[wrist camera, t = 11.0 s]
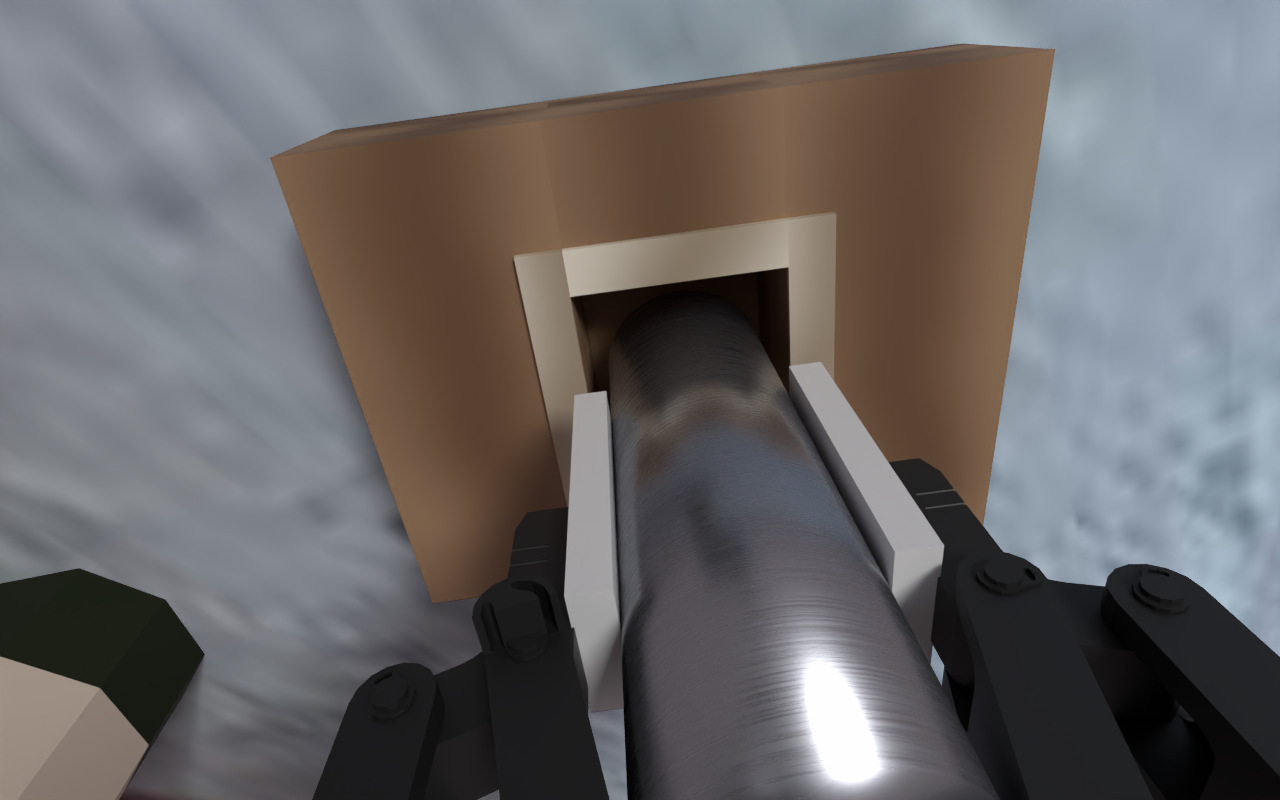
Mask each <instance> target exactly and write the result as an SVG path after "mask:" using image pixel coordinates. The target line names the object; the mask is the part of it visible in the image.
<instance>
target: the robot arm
mask: <svg viewBox="0 0 1280 800" xmlns="http://www.w3.org/2000/svg"><path fill="white" fill-rule="evenodd" d="M789 395H790V399H791V401H792V403H793V405H794V406H795V408H796V410H797V412H798V414H799V416H800V418H801V420H802V422H803V424H804V425H805V427H806V429H807V431H808V433H809V435H810V437H811V439H812V441H813V443H814V444H815V446H816V448H817V450H818V452H819V454H820V456H821V458H822V460H823V462H824V463H825V465H826V467H827V469H828V471H829V473H830V475H831V477H832V479H833V481H834V483H835V484H836V486H837V488H838V490H839V492H840V494H841V496H842V498H843V500H844V502H845V503H846V505H847V507H848V509H849V511H850V513H851V515H852V517H853V519H854V521H855V522H856V524H857V526H858V528H859V530H860V532H861V534H862V536H863V538H864V540H865V541H866V543H867V545H868V547H869V549H870V551H871V553H872V555H873V557H874V559H875V561H876V562H877V564H878V566H879V568H880V570H881V572H882V574H883V576H884V578H885V580H886V581H887V583H888V585H889V587H890V589H891V591H892V593H893V595H894V597H895V599H896V600H897V602H898V604H899V606H900V608H901V610H902V612H903V614H904V616H905V618H906V619H907V621H908V623H909V625H910V627H911V629H912V631H913V633H914V635H915V637H916V638H917V640H918V642H919V644H920V646H921V648H922V650H923V652H924V654H925V656H926V658H927V659H928V661H929V663H931V655H932V646H934V647H935V649H936V651H937V653H938V655H939V657H940V658H941V660H942V662H943V664H944V673H943V680H942V688H943V690H944V692H945V694H946V696H947V697H948V699H949V701H950V703H951V705H952V707H953V709H954V711H955V713H956V715H957V716H958V718H959V720H960V722H961V724H962V726H963V728H964V730H965V732H966V734H967V736H968V737H969V739H970V741H971V743H972V745H973V747H974V749H975V751H976V753H977V755H978V756H979V758H980V760H981V762H982V764H983V766H984V768H985V770H986V772H987V774H988V775H989V777H990V779H991V781H992V783H993V785H994V787H995V789H996V791H997V793H998V794H999V796H1000V798H1001V800H1280V657H1279V656H1278V655H1277V654H1276V653H1275V652H1274V651H1273V650H1271V649H1270V648H1269V647H1268V646H1267V645H1266V644H1265V643H1264V642H1263V641H1261V640H1260V639H1259V638H1258V637H1257V636H1256V635H1255V634H1254V633H1253V632H1251V631H1250V630H1249V629H1248V628H1247V627H1246V626H1245V625H1244V624H1243V623H1241V622H1240V621H1239V620H1238V619H1237V618H1236V617H1235V616H1234V615H1233V614H1231V613H1230V612H1229V611H1228V610H1227V609H1226V608H1225V607H1224V606H1223V605H1221V604H1220V603H1219V602H1218V601H1217V600H1216V599H1215V598H1214V597H1212V596H1211V595H1210V594H1209V593H1208V592H1207V591H1206V590H1205V589H1204V588H1202V587H1201V586H1199V585H1198V584H1197V583H1195V582H1194V581H1192V580H1191V579H1189V578H1188V577H1186V576H1184V575H1181V574H1179V573H1177V572H1174V571H1172V570H1169V569H1167V568H1162V567H1158V566H1153V565H1148V564H1128V565H1125V566H1122V567H1119V568H1116V569H1114V571H1113V572H1112V573H1111V574H1110V575H1109V576H1108V578H1107V582H1106V585H1105V587H1104V586H1094V585H1084V584H1075V583H1065V582H1059V581H1054V580H1049V579H1047V578H1046V577H1045V575H1044V574H1043V573H1042V572H1041V570H1040V569H1039V568H1037V567H1036V566H1034V565H1033V564H1032V563H1030V562H1029V561H1027V560H1026V559H1023V558H1020V557H1018V556H1015V555H1012V554H1010V553H1004V552H1003V551H1002V550H1001V549H1000V547H999V546H998V545H997V543H996V542H995V541H994V540H993V538H992V537H991V536H990V534H989V533H988V532H987V531H986V529H985V528H984V527H983V525H982V524H981V523H980V521H979V520H978V519H977V518H976V516H975V515H974V514H973V512H972V511H971V510H970V509H969V507H968V506H967V505H964V501H963V500H962V498H961V497H960V496H959V494H958V493H957V492H956V491H954V490H953V487H952V485H951V484H950V483H949V481H948V480H947V479H946V478H945V476H944V475H943V474H942V472H941V471H939V470H938V469H936V468H935V467H933V466H931V465H930V464H928V463H926V462H925V461H923V460H921V459H920V458H915V459H908V460H900V461H893V462H888V461H887V460H886V458H885V457H884V455H883V454H882V452H881V451H880V449H879V448H878V446H877V445H876V443H875V442H874V440H873V439H872V437H871V436H870V434H869V433H868V431H867V430H866V428H865V427H864V425H863V424H862V422H861V421H860V419H859V418H858V416H857V415H856V413H855V412H854V410H853V409H852V407H851V406H850V404H849V403H848V401H847V400H846V398H845V397H844V396H843V394H842V393H841V391H840V390H839V388H838V387H837V385H836V384H835V382H834V381H833V379H832V378H831V376H830V375H829V373H828V372H827V370H826V369H825V367H824V366H823V364H822V363H821V362H815V363H808V364H800V365H793V366H789ZM472 619H473V622H474V625H475V628H476V631H477V634H478V637H479V640H480V643H481V646H482V649H483V651H482V652H481V653H480V654H478V655H477V656H475V657H474V658H473V659H471V660H469V661H467V662H465V663H463V664H461V665H459V666H456V667H454V668H451V669H449V670H447V671H444V672H442V673H439V674H437V675H434V676H433V674H432V672H431V671H430V669H428V668H426V667H424V666H422V665H420V664H417V663H401V664H397V665H394V666H390V667H387V668H385V669H383V670H381V671H380V672H378V673H376V674H374V675H372V676H371V677H370V678H369V679H368V680H367V681H365V682H364V683H363V684H362V685H361V686H360V687H359V688H358V689H357V691H356V692H355V694H354V696H353V698H352V699H351V701H350V703H349V705H348V707H347V710H346V713H345V715H344V718H343V720H342V723H341V726H340V728H339V731H338V733H337V736H336V739H335V741H334V744H333V747H332V749H331V752H330V754H329V757H328V760H327V762H326V765H325V768H324V770H323V773H322V775H321V778H320V781H319V783H318V786H317V788H316V791H315V794H314V796H313V799H312V800H477V799H479V798H481V797H483V796H486V795H488V794H490V793H492V792H494V791H496V790H498V789H499V793H500V800H609V796H608V792H607V788H606V784H605V780H604V777H603V773H602V769H601V765H600V761H599V757H598V753H597V749H596V745H595V741H594V737H593V733H592V729H591V725H590V721H589V717H588V700H589V704H590V708H591V712H599V711H607V710H614V709H622V708H624V703H623V680H622V658H621V615H620V593H619V571H618V549H617V527H616V505H615V483H614V461H613V439H612V423H611V417H610V411H609V405H608V399H607V392H606V391H601V392H594V393H586V394H579V395H574V414H573V433H572V453H571V472H570V491H569V507H563V508H556V509H548V510H541V511H533V512H527V514H526V515H525V517H524V518H523V519H522V521H521V522H520V524H519V525H518V526H517V528H516V529H515V533H514V540H513V546H512V552H511V559H510V568H509V572H508V578H507V579H505V580H502V581H500V582H497V583H495V584H494V585H493V586H491V587H490V588H489V589H487V590H486V591H485V592H484V593H482V595H481V596H480V598H479V599H478V601H477V602H476V604H475V605H474V610H473V616H472Z"/></svg>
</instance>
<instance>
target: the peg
mask: <svg viewBox="0 0 1280 800" xmlns="http://www.w3.org/2000/svg"><path fill="white" fill-rule="evenodd" d="M609 385H610V408H611V423H612V439H613V461H614V483H615V505H616V527H617V549H618V571H619V593H620V615H621V658H622V680H623V703H624V726H625V749H626V771H627V794H628V800H1001V798H1000V796H999V794H998V793H997V791H996V789H995V787H994V785H993V783H992V781H991V779H990V777H989V775H988V774H987V772H986V770H985V768H984V766H983V764H982V762H981V760H980V758H979V756H978V755H977V753H976V751H975V749H974V747H973V745H972V743H971V741H970V739H969V737H968V736H967V734H966V732H965V730H964V728H963V726H962V724H961V722H960V720H959V718H958V716H957V715H956V713H955V711H954V709H953V707H952V705H951V703H950V701H949V699H948V697H947V696H946V694H945V692H944V690H943V688H942V686H941V684H940V682H939V680H938V678H937V677H936V675H935V673H934V671H933V669H932V667H931V665H930V663H929V661H928V659H927V658H926V656H925V654H924V652H923V650H922V648H921V646H920V644H919V642H918V640H917V638H916V637H915V635H914V633H913V631H912V629H911V627H910V625H909V623H908V621H907V619H906V618H905V616H904V614H903V612H902V610H901V608H900V606H899V604H898V602H897V600H896V599H895V597H894V595H893V593H892V591H891V589H890V587H889V585H888V583H887V581H886V580H885V578H884V576H883V574H882V572H881V570H880V568H879V566H878V564H877V562H876V561H875V559H874V557H873V555H872V553H871V551H870V549H869V547H868V545H867V543H866V541H865V540H864V538H863V536H862V534H861V532H860V530H859V528H858V526H857V524H856V522H855V521H854V519H853V517H852V515H851V513H850V511H849V509H848V507H847V505H846V503H845V502H844V500H843V498H842V496H841V494H840V492H839V490H838V488H837V486H836V484H835V483H834V481H833V479H832V477H831V475H830V473H829V471H828V469H827V467H826V465H825V463H824V462H823V460H822V458H821V456H820V454H819V452H818V450H817V448H816V446H815V444H814V443H813V441H812V439H811V437H810V435H809V433H808V431H807V429H806V427H805V425H804V424H803V422H802V420H801V418H800V416H799V414H798V412H797V410H796V408H795V406H794V405H793V403H792V401H791V399H790V397H789V395H788V393H787V391H786V389H785V387H784V385H783V384H782V382H781V380H780V378H779V376H778V374H777V372H776V370H775V368H774V366H773V365H772V363H771V361H770V359H769V357H768V355H767V353H766V351H765V349H764V347H763V346H762V344H761V342H760V340H759V338H758V336H757V334H756V332H755V330H754V328H753V327H752V325H751V323H750V322H749V320H748V319H747V317H746V316H745V315H744V314H743V313H742V311H740V310H739V309H738V308H737V307H736V306H735V305H733V304H732V303H730V302H729V301H727V300H726V299H723V298H721V297H719V296H717V295H714V294H711V293H707V292H702V291H693V290H683V291H674V292H669V293H665V294H662V295H659V296H657V297H654V298H652V299H650V300H648V301H646V302H645V303H643V304H642V305H640V306H639V307H637V308H636V309H635V310H634V311H633V312H631V313H630V315H629V316H628V317H627V318H626V319H625V320H624V321H623V323H622V324H621V326H620V327H619V328H618V330H617V332H616V334H615V336H614V339H613V341H612V344H611V348H610V353H609Z"/></svg>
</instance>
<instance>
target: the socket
mask: <svg viewBox="0 0 1280 800" xmlns="http://www.w3.org/2000/svg"><path fill="white" fill-rule="evenodd" d="M1054 53H1055V49H1041V48H1025V47H1008V46H992V45H976V44H956V45H949V46H942V47H935V48H927V49H920V50H913V51H906V52H899V53H891V54H884V55H877V56H870V57H862V58H855V59H848V60H841V61H833V62H826V63H819V64H812V65H805V66H797V67H790V68H783V69H776V70H768V71H761V72H754V73H747V74H740V75H732V76H725V77H718V78H711V79H703V80H696V81H689V82H682V83H674V84H667V85H660V86H653V87H646V88H638V89H631V90H624V91H617V92H609V93H602V94H595V95H588V96H580V97H573V98H566V99H559V100H552V101H544V102H537V103H530V104H523V105H515V106H508V107H501V108H494V109H486V110H479V111H472V112H465V113H458V114H450V115H443V116H436V117H429V118H421V119H414V120H407V121H400V122H392V123H385V124H378V125H371V126H364V127H356V128H349V129H342V130H335V131H332V132H330V133H328V134H325V135H323V136H320V137H318V138H316V139H313V140H311V141H309V142H306V143H304V144H302V145H299V146H297V147H294V148H292V149H290V150H287V151H285V152H283V153H280V154H278V155H276V156H273V157H271V158H270V159H271V161H272V164H273V167H274V170H275V172H276V175H277V178H278V181H279V183H280V186H281V189H282V192H283V194H284V197H285V200H286V203H287V205H288V208H289V211H290V214H291V216H292V219H293V222H294V224H295V227H296V230H297V233H298V235H299V238H300V241H301V244H302V246H303V249H304V252H305V255H306V257H307V260H308V263H309V266H310V268H311V271H312V274H313V277H314V279H315V282H316V285H317V288H318V290H319V293H320V296H321V299H322V301H323V304H324V307H325V309H326V312H327V315H328V318H329V320H330V323H331V326H332V329H333V331H334V334H335V337H336V340H337V342H338V345H339V348H340V351H341V353H342V356H343V359H344V362H345V364H346V367H347V370H348V373H349V375H350V378H351V381H352V384H353V386H354V389H355V392H356V395H357V397H358V400H359V403H360V405H361V408H362V411H363V414H364V416H365V419H366V422H367V425H368V427H369V430H370V433H371V436H372V438H373V441H374V444H375V447H376V449H377V452H378V455H379V458H380V460H381V463H382V466H383V469H384V471H385V474H386V477H387V480H388V482H389V485H390V488H391V490H392V493H393V496H394V499H395V501H396V504H397V507H398V510H399V512H400V515H401V518H402V521H403V523H404V526H405V529H406V532H407V534H408V537H409V540H410V543H411V545H412V548H413V551H414V554H415V556H416V559H417V562H418V565H419V567H420V570H421V573H422V576H423V578H424V581H425V584H426V586H427V589H428V592H429V595H430V597H431V600H432V603H440V602H447V601H455V600H462V599H470V598H477V597H480V596H481V595H482V593H484V592H485V591H486V590H487V589H489V588H490V587H491V586H493V585H494V584H495V583H497V582H500V581H502V580H505V579H507V578H508V572H509V568H510V559H511V552H512V546H513V540H514V533H515V529H516V528H517V526H518V525H519V524H520V522H521V521H522V519H523V518H524V517H525V515H526V514H527V512H533V511H541V510H548V509H556V508H563V507H569V491H570V472H571V453H572V433H573V414H574V395H579V394H586V393H594V392H601V391H606V392H607V399H608V405H609V411H610V417H611V408H610V385H609V353H610V348H611V344H612V341H613V339H614V336H615V334H616V332H617V330H618V328H619V327H620V326H621V324H622V323H623V321H624V320H625V319H626V318H627V317H628V316H629V315H630V313H631V312H633V311H634V310H635V309H636V308H637V307H639V306H640V305H642V304H643V303H645V302H646V301H648V300H650V299H652V298H654V297H657V296H659V295H662V294H665V293H669V292H674V291H683V290H693V291H702V292H707V293H711V294H714V295H717V296H719V297H721V298H723V299H726V300H727V301H729V302H730V303H732V304H733V305H735V306H736V307H737V308H738V309H739V310H740V311H742V313H743V314H744V315H745V316H746V317H747V319H748V320H749V322H750V323H751V325H752V327H753V328H754V330H755V332H756V334H757V336H758V338H759V340H760V342H761V344H762V346H763V347H764V349H765V351H766V353H767V355H768V357H769V359H770V361H771V363H772V365H773V366H774V368H775V370H776V372H777V374H778V376H779V378H780V380H781V382H782V384H783V385H784V387H785V389H786V391H787V393H788V395H789V366H793V365H800V364H808V363H815V362H821V363H822V364H823V366H824V367H825V369H826V370H827V372H828V373H829V375H830V376H831V378H832V379H833V381H834V382H835V384H836V385H837V387H838V388H839V390H840V391H841V393H842V394H843V396H844V397H845V398H846V400H847V401H848V403H849V404H850V406H851V407H852V409H853V410H854V412H855V413H856V415H857V416H858V418H859V419H860V421H861V422H862V424H863V425H864V427H865V428H866V430H867V431H868V433H869V434H870V436H871V437H872V439H873V440H874V442H875V443H876V445H877V446H878V448H879V449H880V451H881V452H882V454H883V455H884V457H885V458H886V460H887V461H888V462H893V461H900V460H908V459H915V458H920V459H921V460H923V461H925V462H926V463H928V464H930V465H931V466H933V467H935V468H936V469H938V470H939V471H941V472H942V474H943V475H944V476H945V478H946V479H947V480H948V481H949V483H950V484H951V485H952V487H953V490H954V491H956V492H957V493H958V494H959V496H960V497H961V498H962V500H963V501H964V505H967V506H968V507H969V509H970V510H971V511H972V512H973V514H974V515H975V516H976V518H977V519H978V520H979V521H980V523H981V524H982V525H983V522H984V516H985V509H986V502H987V496H988V489H989V482H990V476H991V469H992V463H993V456H994V449H995V443H996V436H997V430H998V423H999V416H1000V410H1001V403H1002V396H1003V390H1004V383H1005V377H1006V370H1007V363H1008V357H1009V350H1010V344H1011V337H1012V330H1013V324H1014V317H1015V310H1016V304H1017V297H1018V291H1019V284H1020V277H1021V271H1022V264H1023V258H1024V251H1025V244H1026V238H1027V231H1028V224H1029V218H1030V211H1031V205H1032V198H1033V191H1034V185H1035V178H1036V172H1037V165H1038V158H1039V152H1040V145H1041V139H1042V132H1043V125H1044V119H1045V112H1046V105H1047V99H1048V92H1049V86H1050V79H1051V72H1052V66H1053V59H1054ZM789 397H790V395H789Z"/></svg>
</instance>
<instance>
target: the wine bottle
mask: <svg viewBox="0 0 1280 800" xmlns="http://www.w3.org/2000/svg"><path fill="white" fill-rule="evenodd" d="M203 656H204V653H203V652H202V650H201V649H200V647H199V646H198V645H197V643H196V642H195V641H194V639H193V638H192V636H191V635H190V634H189V632H188V631H187V629H186V628H185V627H184V625H183V624H182V623H181V621H180V620H179V618H178V617H177V616H176V614H175V613H174V611H173V610H172V609H171V607H170V606H169V605H168V603H167V602H166V600H164V599H161V598H158V597H156V596H153V595H150V594H147V593H145V592H142V591H139V590H136V589H134V588H131V587H128V586H125V585H123V584H120V583H117V582H114V581H112V580H109V579H106V578H103V577H101V576H98V575H95V574H92V573H90V572H87V571H84V570H81V569H74V570H69V571H64V572H59V573H53V574H48V575H43V576H38V577H33V578H28V579H23V580H18V581H12V582H7V583H2V584H0V800H119V799H120V797H121V796H122V794H123V792H124V791H125V789H126V788H127V786H128V784H129V783H130V781H131V779H132V778H133V776H134V774H135V773H136V771H137V769H138V768H139V766H140V765H141V763H142V761H143V760H144V758H145V756H146V755H147V753H148V751H149V750H150V748H151V747H152V745H153V743H154V742H155V740H156V738H157V737H158V735H159V733H160V732H161V730H162V728H163V727H164V725H165V724H166V722H167V720H168V719H169V717H170V715H171V714H172V712H173V710H174V709H175V707H176V706H177V704H178V702H179V701H180V699H181V697H182V695H183V693H184V692H185V690H186V688H187V686H188V684H189V682H190V680H191V679H192V677H193V675H194V673H195V671H196V669H197V667H198V666H199V664H200V662H201V660H202V658H203Z"/></svg>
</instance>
